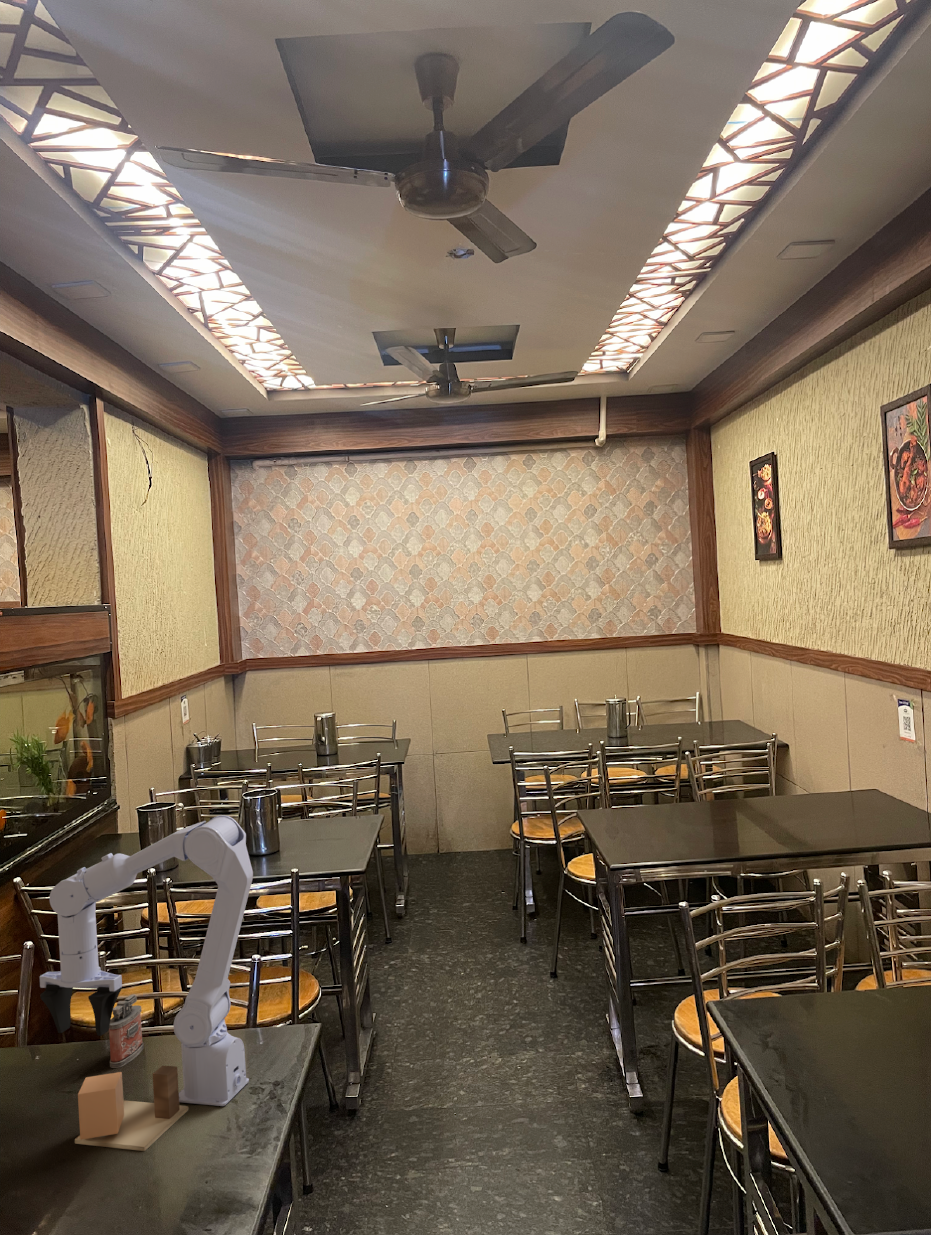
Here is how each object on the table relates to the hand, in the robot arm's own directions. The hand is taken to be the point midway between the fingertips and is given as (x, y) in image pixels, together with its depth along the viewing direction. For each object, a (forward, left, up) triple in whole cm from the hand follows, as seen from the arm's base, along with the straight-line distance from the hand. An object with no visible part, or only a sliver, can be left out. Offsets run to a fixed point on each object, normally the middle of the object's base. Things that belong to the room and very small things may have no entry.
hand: (83, 1031), depth 144 cm
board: (-14, +7, -10) cm, 19 cm away
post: (-18, +4, -10) cm, 21 cm away
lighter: (+2, -13, -11) cm, 17 cm away
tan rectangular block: (-11, +10, -9) cm, 17 cm away
